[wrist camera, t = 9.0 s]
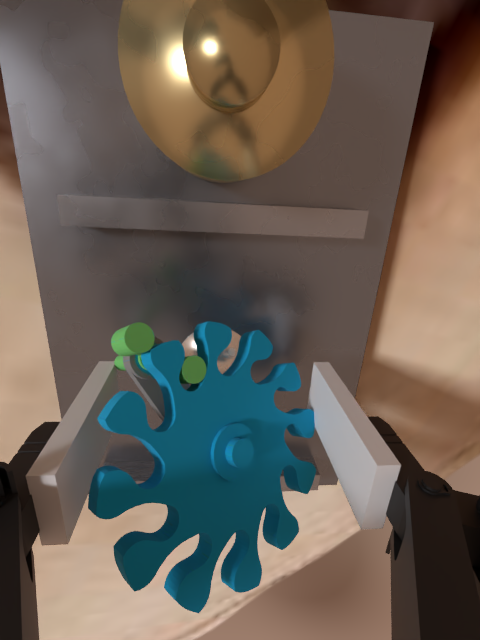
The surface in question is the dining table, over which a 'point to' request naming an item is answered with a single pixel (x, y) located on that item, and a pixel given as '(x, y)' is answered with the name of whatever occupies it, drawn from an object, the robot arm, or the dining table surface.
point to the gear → (203, 458)
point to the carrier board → (203, 262)
